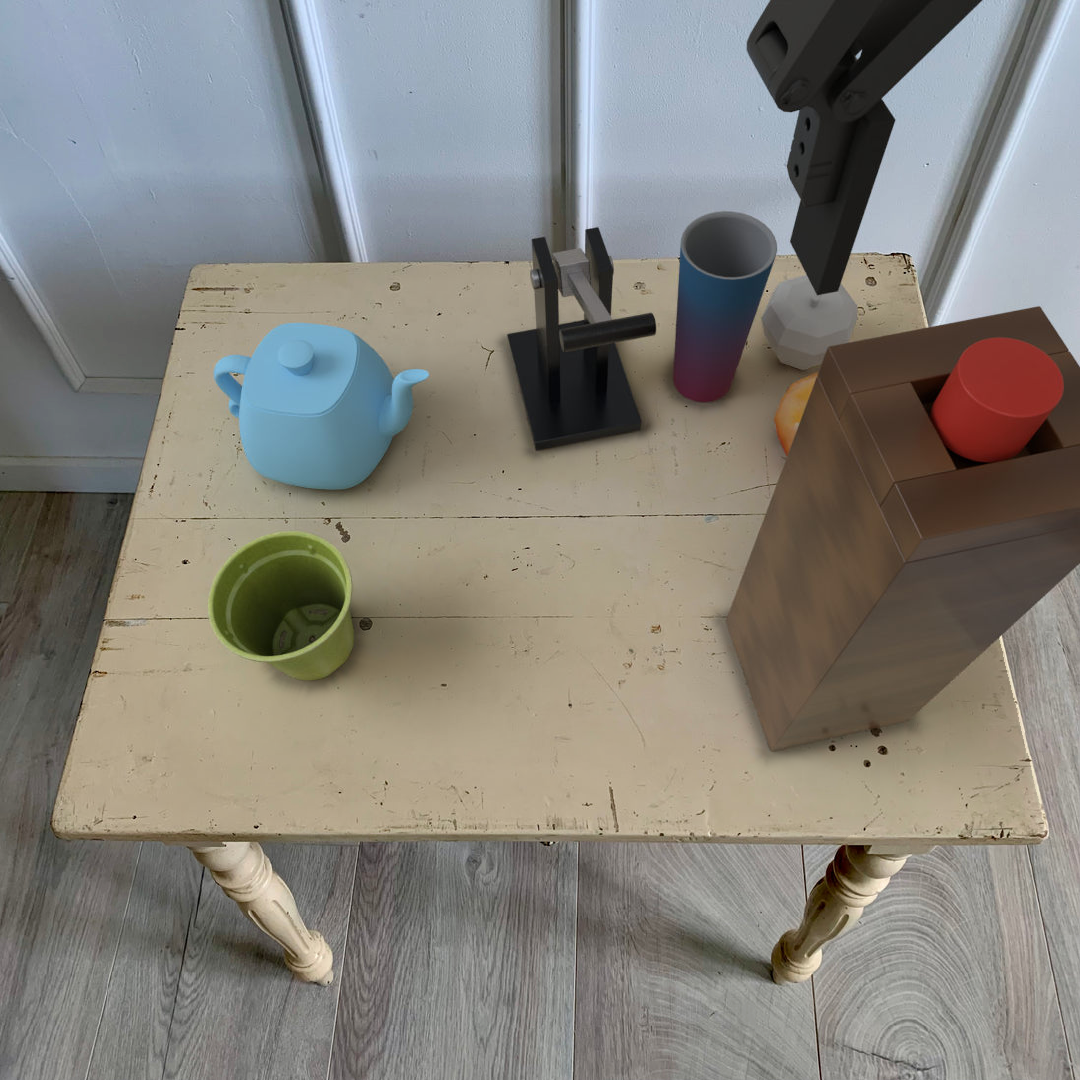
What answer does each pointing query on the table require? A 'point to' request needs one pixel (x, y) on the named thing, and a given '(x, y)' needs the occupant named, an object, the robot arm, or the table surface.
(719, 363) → the cup
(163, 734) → the table surface
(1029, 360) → the button
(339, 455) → the teapot
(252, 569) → the plant pot
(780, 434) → the fruit
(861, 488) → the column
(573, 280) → the lever
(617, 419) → the bracket
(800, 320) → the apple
